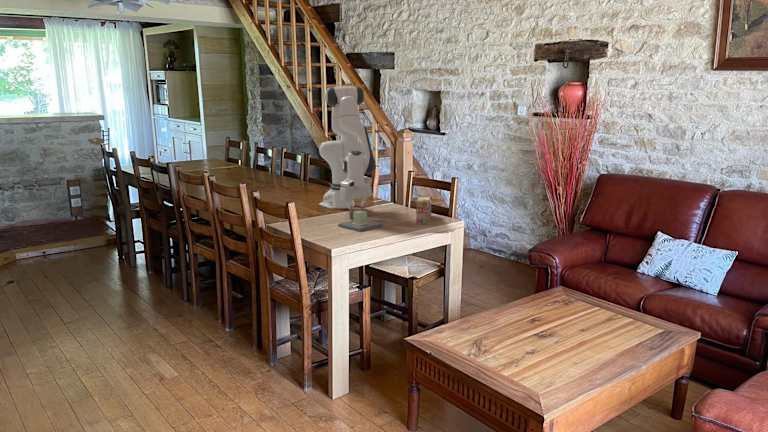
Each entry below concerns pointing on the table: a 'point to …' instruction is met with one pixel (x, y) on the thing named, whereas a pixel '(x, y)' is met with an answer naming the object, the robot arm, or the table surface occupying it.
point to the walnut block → (353, 211)
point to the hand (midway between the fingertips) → (356, 207)
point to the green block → (360, 217)
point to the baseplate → (360, 227)
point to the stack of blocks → (423, 210)
